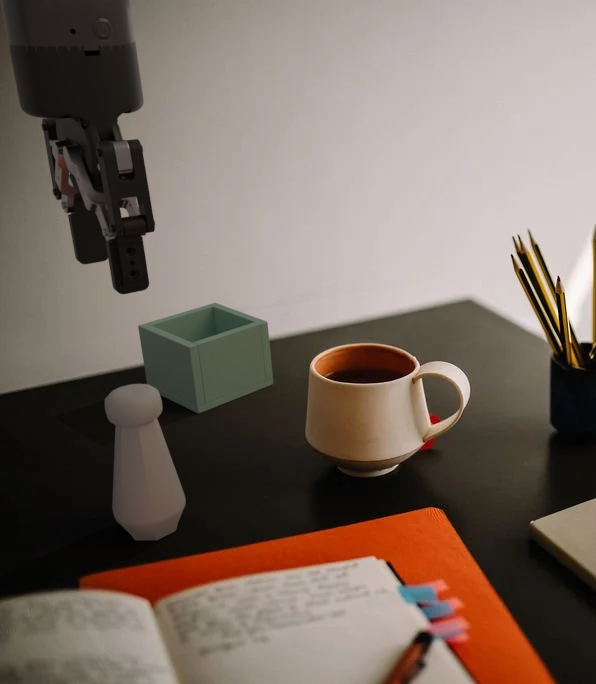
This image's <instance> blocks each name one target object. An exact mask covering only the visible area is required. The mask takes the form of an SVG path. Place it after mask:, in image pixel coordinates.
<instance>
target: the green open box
mask: <svg viewBox="0 0 596 684" xmlns="http://www.w3.org/2000/svg"><path fill="white" fill-rule="evenodd" d="M137 328H138V333H139V341H140V347H141V354H142V360H143V368H144V373H145V379H146V380H145V381H146V384H147V385H150V386H152V387H154V388H156V389H157V390H158V391H159V394H160V397H161V396H162V397H164V398H166V399H168V400H169V401H171V402H174V403H176V404H178V405H180V406H181V407H184V408H186V409H188V410H190V411H192V412H194V413H196V414H199V415H200V414H201V413H205V412H207V411H209V410H212V409H215V408H217V407H219V406H222V405H224V404H227V403H230V402H232V401H234V400H238V399H239V398H242V397H244V396H247V395H250V394H253V393H255V392H257V391H261V390H262V389H265V388H267V387H271V386H273V385H274V375H273V374H274V373H273V365H272V356H271V355H272V354H271V353H272V352H271V344H270V333H269V321H267V320H263V319H262V318H258V317H256V316H253V315H250V314H247V313H245V312H242V311H240V310H237V309H234V308H231V307H228V306H226V305H223V304H220V303H218V302H213V303H210V304H206V305H203V306H200V307H196V308H193V309H190V310H189V309H188V310H186V311H182V312H179V313H176V314H172V315H169V316H165V317H162V318H158V319H155V320H152V321H149V322H146V323H142V324H138V325H137Z"/></svg>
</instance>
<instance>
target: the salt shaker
mask: <svg viewBox="0 0 596 684" xmlns="http://www.w3.org/2000/svg"><path fill="white" fill-rule="evenodd" d="M163 409H164V407H163V400H162V397H161V395H160V394H159V391H158V390H157V389H156V388H154V387H152V386H150V385H147V383H131V384H127V385H122V386H119V387H117V388H115V389H113V390H112V391H111V392H110V393H109V394H108V395H107V396H106V397H105V398H104V411H105V414H106V417H107V420H108V421H109V422H110V423H111V424H112V425H114V426H115V428H114V429H115V431H114V454H113V459H114V460H113V477H112V478H113V479H112V500H111V501H112V503H111V504H112V505H111V509H112V513H113V517H114V519H115V521H116V522H117V523H118V524H119V525H120V526H121V527H122V528H123V529H124V530H125V531H126V532H127V533H128V534H129V535H130V536H131V537H132V538H133V540H134V541H158V540H160V539H163V538H164V537H166V536H168V535H171V534H173V533H175V532H177V529H178V524H179V522H180V519H181V516H182V514H183V511H184V509H185V507H186V503H187V502H186V500H187V499H186V495H185V492H184V489H183V486H182V484H181V481H180V478H179V475H178V473H177V470H176V469H177V468H176V467H175V464H174V462H173V458H172V455H171V453H170V450H169V448H168V445H167V442H166V439H165V436H164V434H163V431H162V427H161V425H160V422H159V420H158V418H159V417H160V415H161V414H162V413H163Z"/></svg>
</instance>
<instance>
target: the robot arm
mask: <svg viewBox="0 0 596 684" xmlns="http://www.w3.org/2000/svg"><path fill="white" fill-rule="evenodd" d="M0 6H1V12H2V13H1V14H2V18H3V22H4V23H3V24H4V28H5V33H6V39H7V44H8V49H9V54H10V59H11V63H12V70H13V76H14V81H15V85H16V91H17V96H18V102H19V107H20V108H21V111H22V112H23V113H25V114H26V115H27V116H30V117H35V118H42V119H41V130H42V131H43V136H44V143H45V149H46V155H47V160H48V166H49V167H48V168H49V172H50V173H49V174H50V179H51V183H52V189H51V190H52V194H53V196H54V198H55V200H56V201H60V207H61V209H62V210H63V212H64V213H65V214H67V218H68V219H67V220H68V222H69V228H70V234H71V235H70V236H71V240H72V246H73V251H74V256H75V260H76V261H77V262H78V263H80V264H82V265H90V264H91V265H92V264H96V263H102V262H105V261H107V260H108V265H109V272H110V277H111V284H112V288H113V290H114V291H115V292H117V293H118V294H120V295H129V294H132V293H138V292H143V291H145V290H147V289H148V288H149V286H150V279H149V272H148V265H147V259H146V252H145V245H144V238H143V236H146V235H147V234H148V233H154V232H155V230H156V221H155V219H154V212H153V207H152V206H153V205H152V201H151V194H150V188H149V183H148V182H149V181H148V177H147V170H146V164H145V163H146V162H145V158H144V148H143V145H142V142H141V141H140V140H139V139H138V138H134V139H124V138H123V135H122V131H121V128H120V127H121V126H120V125H119V123H118V122H119V117H120V116H121V115H123V114H132V113H135V112H138V111H140V110H141V108H142V107H143V106H144V103H145V102H144V101H145V99H144V93H143V92H144V91H143V87H142V86H143V85H142V78H141V73H140V65H139V58H138V57H139V56H138V51H137V44H136V36H135V35H136V34H135V27H134V21H133V14H132V7H131V1H130V0H0ZM121 209H125V210H126V211H127V214H128V216H122V211H121Z"/></svg>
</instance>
